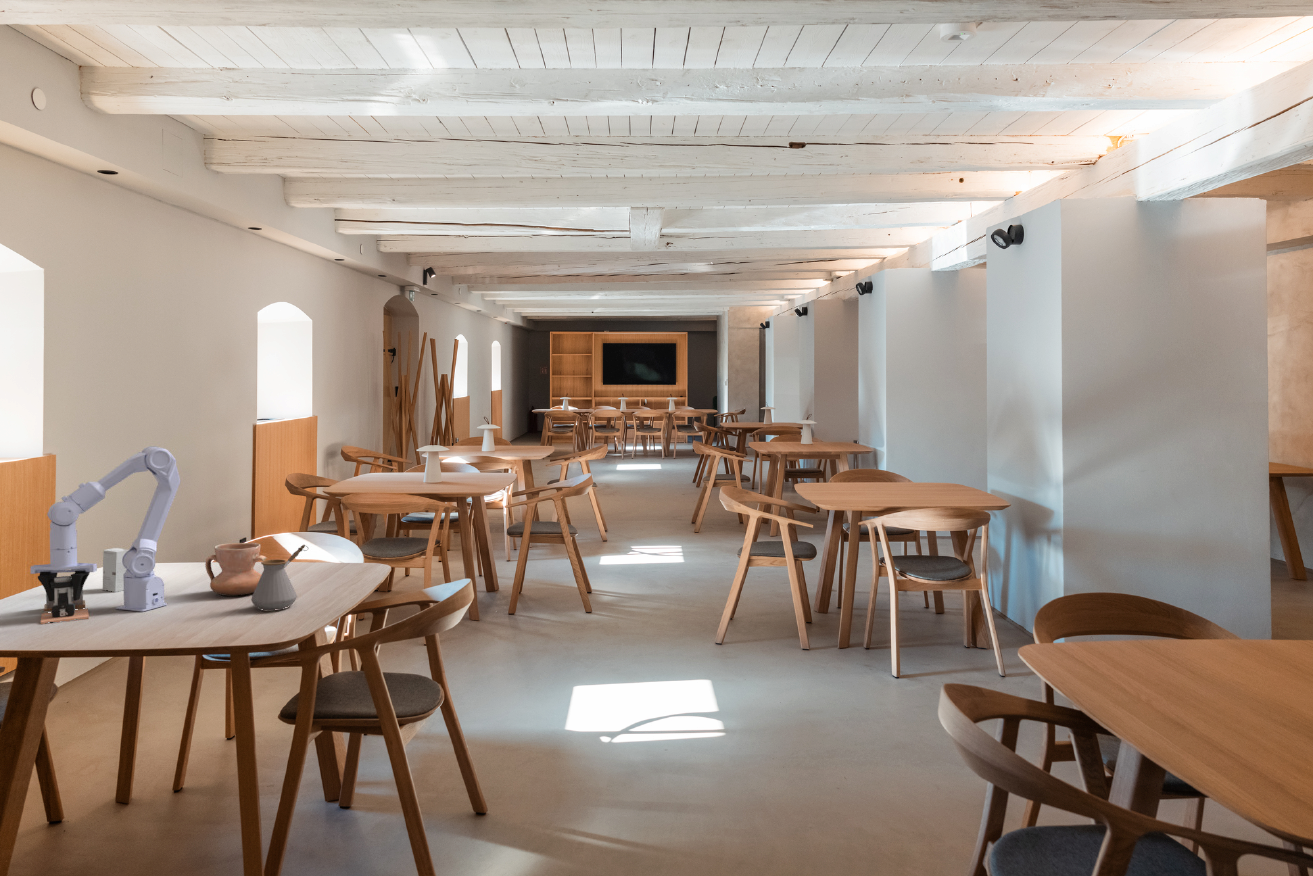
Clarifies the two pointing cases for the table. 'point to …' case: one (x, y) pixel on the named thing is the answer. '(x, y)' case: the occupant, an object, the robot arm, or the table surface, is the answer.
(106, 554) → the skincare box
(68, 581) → the push button
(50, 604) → the wall unit
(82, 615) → the terracotta mat
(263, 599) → the coffee pot
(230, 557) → the ceramic jug
